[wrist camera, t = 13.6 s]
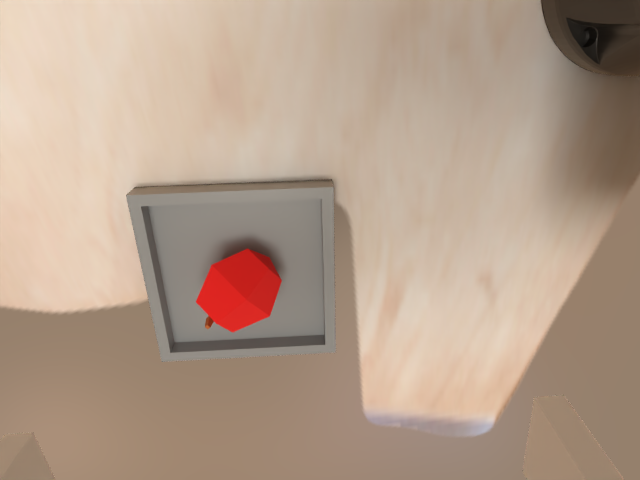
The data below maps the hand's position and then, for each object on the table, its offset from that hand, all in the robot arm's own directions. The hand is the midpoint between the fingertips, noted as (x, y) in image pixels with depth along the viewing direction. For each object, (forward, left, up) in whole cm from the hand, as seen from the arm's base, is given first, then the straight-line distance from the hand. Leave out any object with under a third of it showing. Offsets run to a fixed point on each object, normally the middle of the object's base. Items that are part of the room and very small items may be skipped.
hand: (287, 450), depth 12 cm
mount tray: (+5, +10, -29) cm, 31 cm away
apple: (+5, +10, -29) cm, 31 cm away
